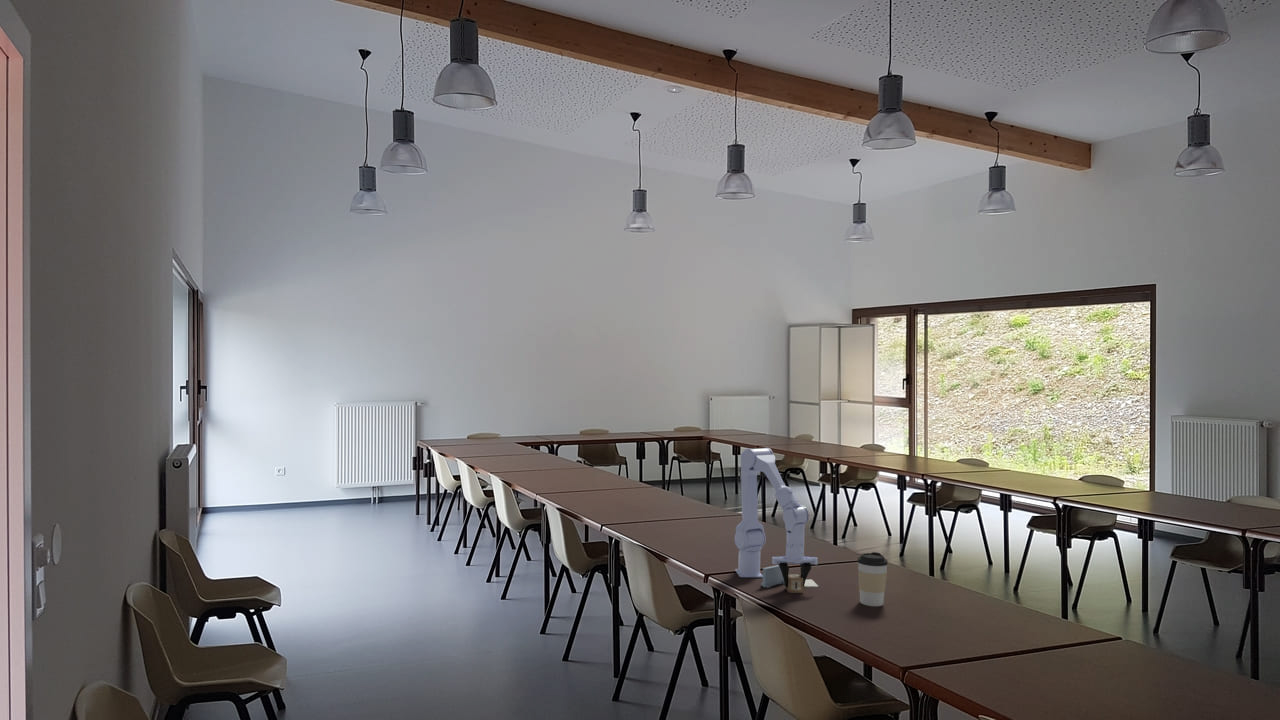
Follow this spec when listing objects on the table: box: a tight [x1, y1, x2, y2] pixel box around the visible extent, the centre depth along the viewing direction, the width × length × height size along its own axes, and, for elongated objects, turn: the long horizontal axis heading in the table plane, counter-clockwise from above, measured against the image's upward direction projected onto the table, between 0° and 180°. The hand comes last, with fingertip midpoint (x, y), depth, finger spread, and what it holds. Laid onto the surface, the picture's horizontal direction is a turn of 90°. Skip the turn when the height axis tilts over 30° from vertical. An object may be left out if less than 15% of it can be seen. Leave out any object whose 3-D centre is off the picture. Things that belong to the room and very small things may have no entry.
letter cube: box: [784, 574, 804, 594], centre depth 269 cm, size 5×5×5 cm
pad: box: [803, 579, 819, 588], centre depth 278 cm, size 8×8×1 cm
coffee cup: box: [856, 551, 889, 607], centre depth 258 cm, size 9×9×15 cm
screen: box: [760, 564, 784, 589], centre depth 276 cm, size 3×10×6 cm, turn 129°
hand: (794, 586), depth 270 cm, fingers closed on letter cube, 5 cm apart
